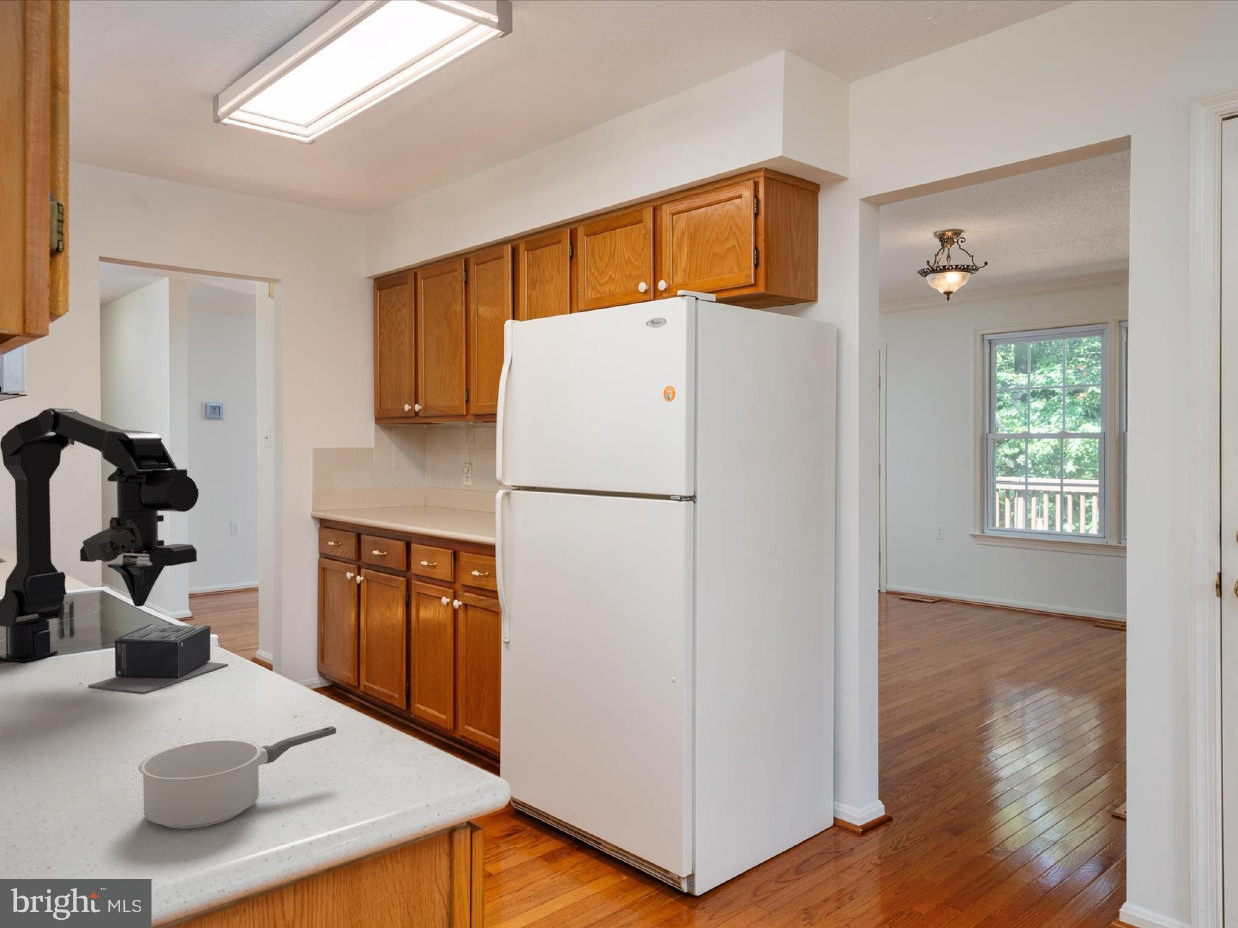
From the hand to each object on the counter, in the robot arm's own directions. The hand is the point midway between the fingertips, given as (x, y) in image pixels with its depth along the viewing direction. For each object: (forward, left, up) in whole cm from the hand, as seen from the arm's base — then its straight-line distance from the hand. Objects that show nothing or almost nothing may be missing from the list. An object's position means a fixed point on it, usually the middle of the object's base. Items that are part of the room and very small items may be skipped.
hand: (139, 606), depth 142 cm
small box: (-2, +1, -8) cm, 8 cm away
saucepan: (+51, -35, -11) cm, 63 cm away
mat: (+4, 0, -11) cm, 12 cm away
